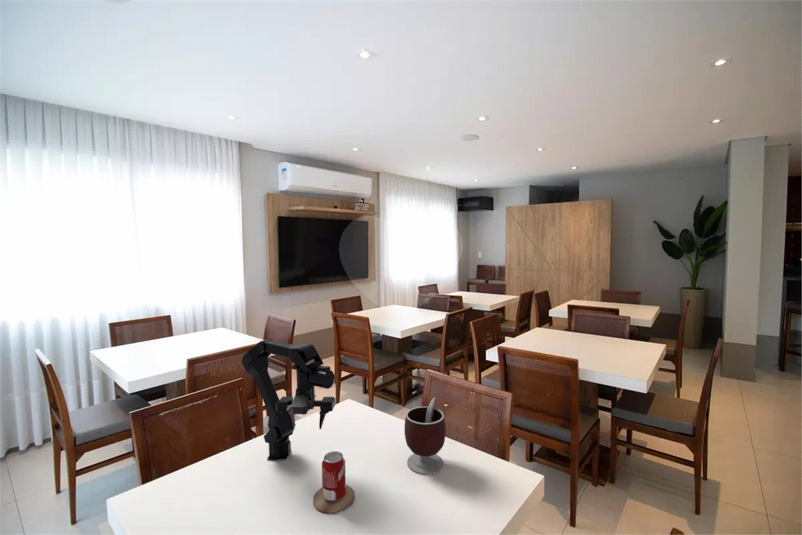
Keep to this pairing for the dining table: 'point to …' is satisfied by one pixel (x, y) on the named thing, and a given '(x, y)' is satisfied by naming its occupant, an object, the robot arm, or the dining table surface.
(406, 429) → the mate gourd
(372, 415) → the dining table surface
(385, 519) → the dining table surface
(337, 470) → the soda can
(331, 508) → the coaster
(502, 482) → the dining table surface
